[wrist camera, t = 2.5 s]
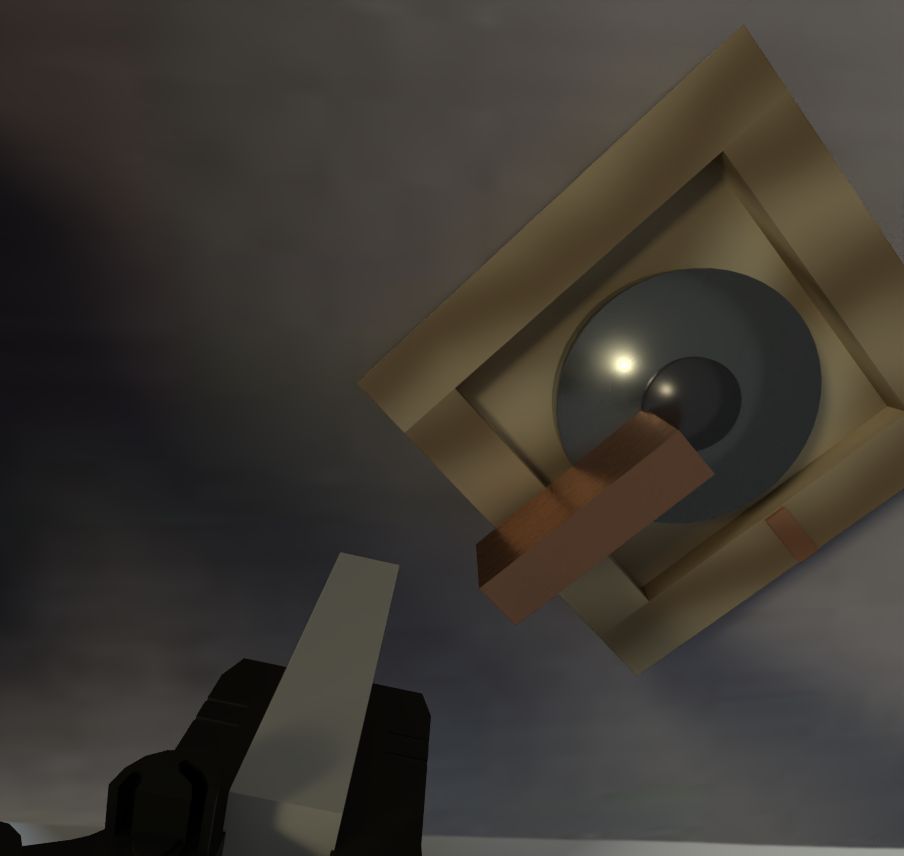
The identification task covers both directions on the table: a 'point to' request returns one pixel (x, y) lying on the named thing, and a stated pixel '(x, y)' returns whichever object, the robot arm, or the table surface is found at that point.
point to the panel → (645, 253)
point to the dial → (659, 424)
